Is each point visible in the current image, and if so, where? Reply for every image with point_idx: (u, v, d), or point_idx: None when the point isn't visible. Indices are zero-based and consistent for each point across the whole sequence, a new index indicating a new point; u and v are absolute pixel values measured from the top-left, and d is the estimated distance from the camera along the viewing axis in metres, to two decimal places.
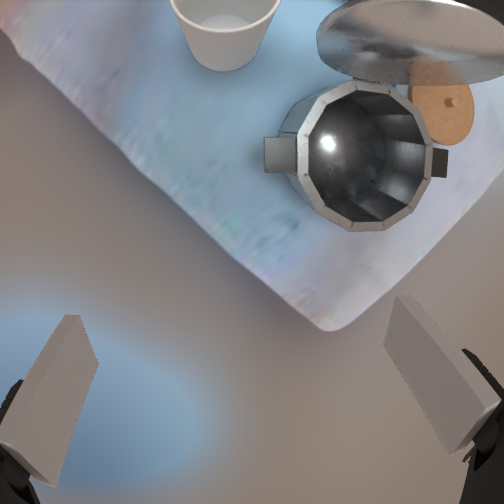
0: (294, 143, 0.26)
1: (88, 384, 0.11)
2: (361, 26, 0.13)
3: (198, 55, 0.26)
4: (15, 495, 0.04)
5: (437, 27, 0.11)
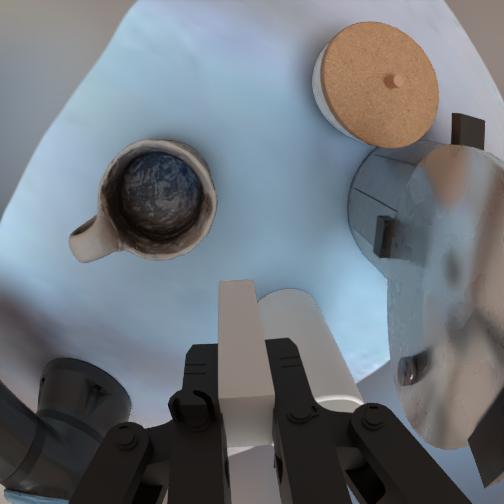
0: None
1: None
2: None
3: None
4: (225, 478, 0.06)
5: None
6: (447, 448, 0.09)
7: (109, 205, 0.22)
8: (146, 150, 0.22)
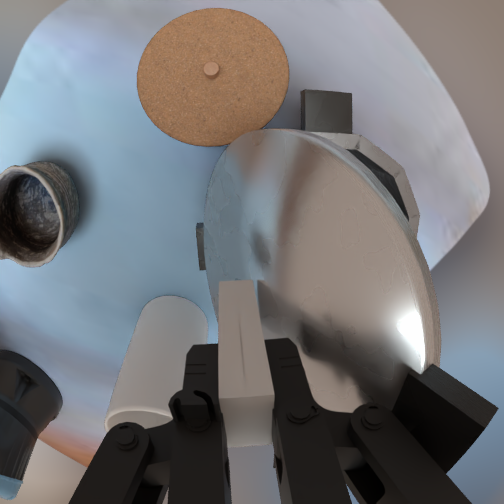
0: None
1: None
2: None
3: None
4: (226, 478, 0.06)
5: None
6: None
7: None
8: (16, 174, 0.21)
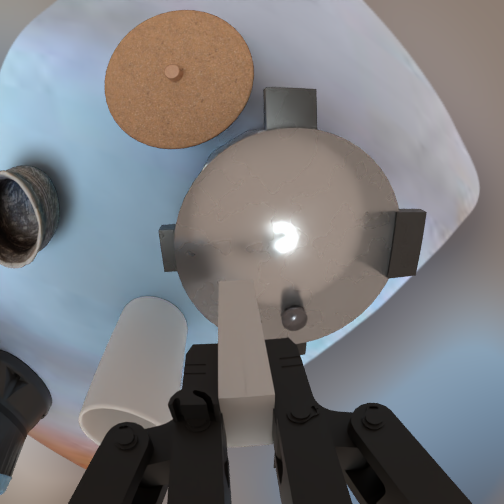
0: None
1: None
2: None
3: None
4: (225, 478, 0.06)
5: None
6: (373, 300, 0.22)
7: None
8: None
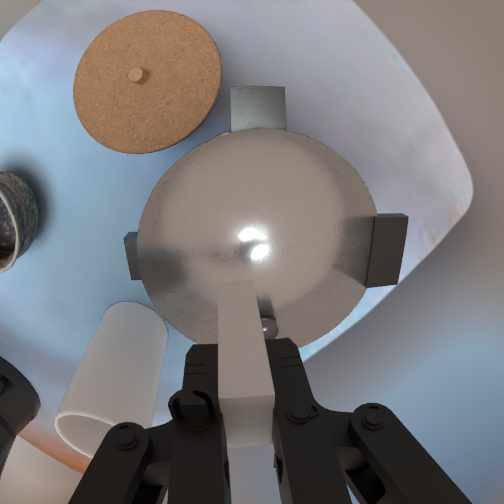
0: None
1: None
2: None
3: None
4: (225, 478, 0.06)
5: None
6: (351, 311, 0.21)
7: None
8: None
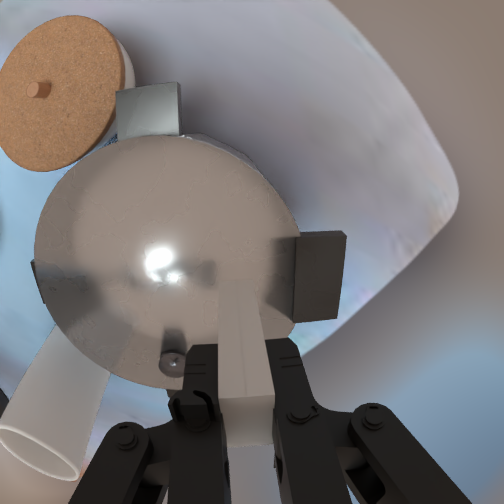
0: None
1: None
2: None
3: None
4: (225, 478, 0.06)
5: None
6: None
7: None
8: None
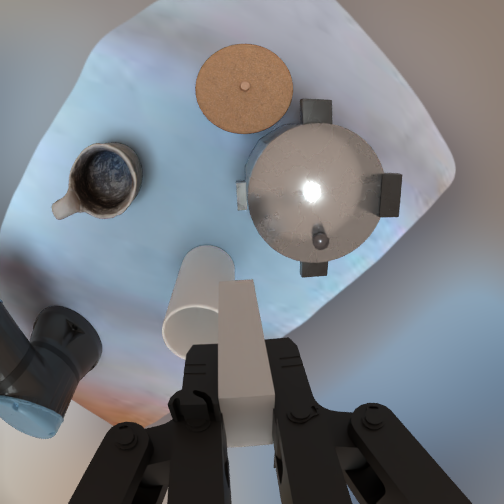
0: None
1: None
2: None
3: None
4: (225, 478, 0.06)
5: None
6: (371, 232, 0.33)
7: (76, 184, 0.33)
8: (97, 150, 0.33)
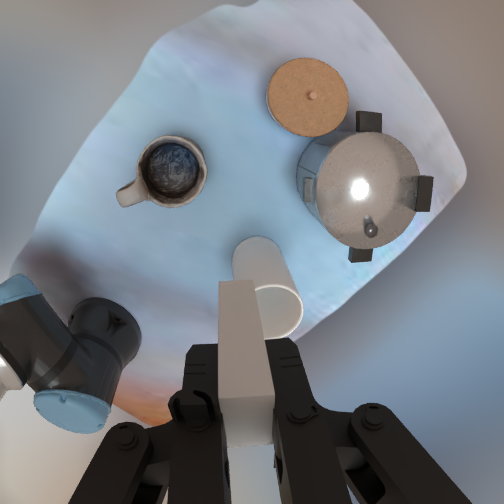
0: None
1: None
2: None
3: (280, 288, 0.48)
4: (225, 478, 0.06)
5: None
6: (408, 224, 0.38)
7: (142, 173, 0.37)
8: (165, 141, 0.37)
